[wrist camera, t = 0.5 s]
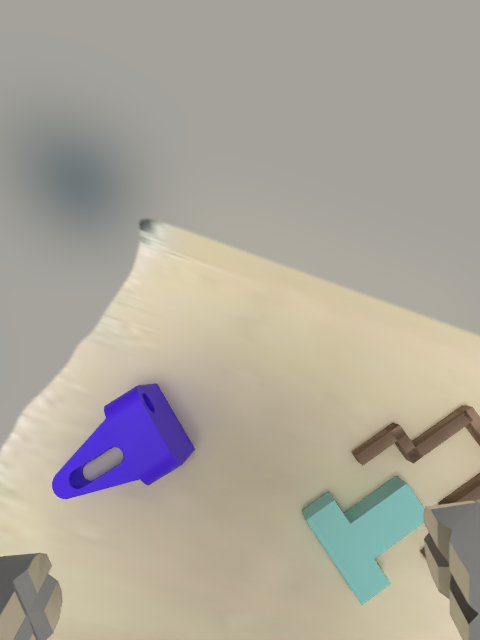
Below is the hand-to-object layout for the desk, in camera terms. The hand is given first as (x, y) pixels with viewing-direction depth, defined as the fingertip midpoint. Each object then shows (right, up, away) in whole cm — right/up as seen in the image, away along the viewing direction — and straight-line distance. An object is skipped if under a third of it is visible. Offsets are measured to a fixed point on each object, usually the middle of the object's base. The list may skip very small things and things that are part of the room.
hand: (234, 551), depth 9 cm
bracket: (-17, -14, +49) cm, 54 cm away
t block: (+18, -23, +47) cm, 55 cm away
